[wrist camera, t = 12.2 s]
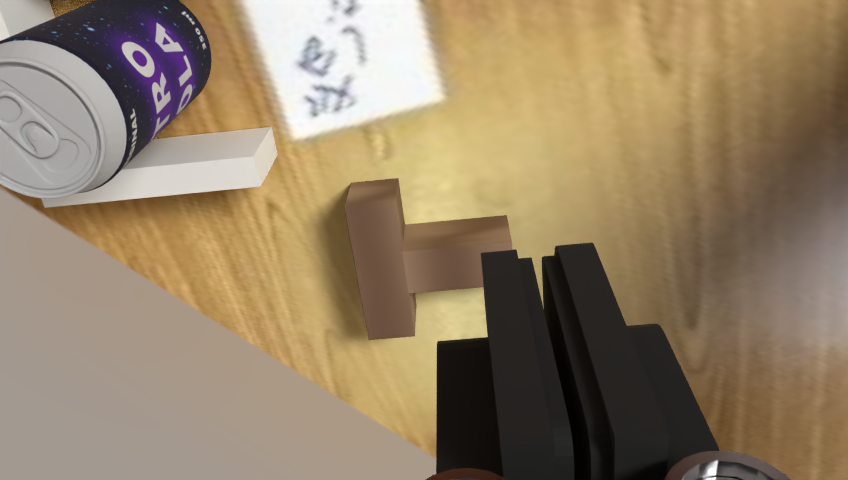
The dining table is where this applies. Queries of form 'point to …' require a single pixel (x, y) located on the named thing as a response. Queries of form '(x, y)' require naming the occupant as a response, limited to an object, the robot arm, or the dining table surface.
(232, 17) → the dining table surface
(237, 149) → the corral
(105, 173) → the beverage can
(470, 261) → the walnut T block
